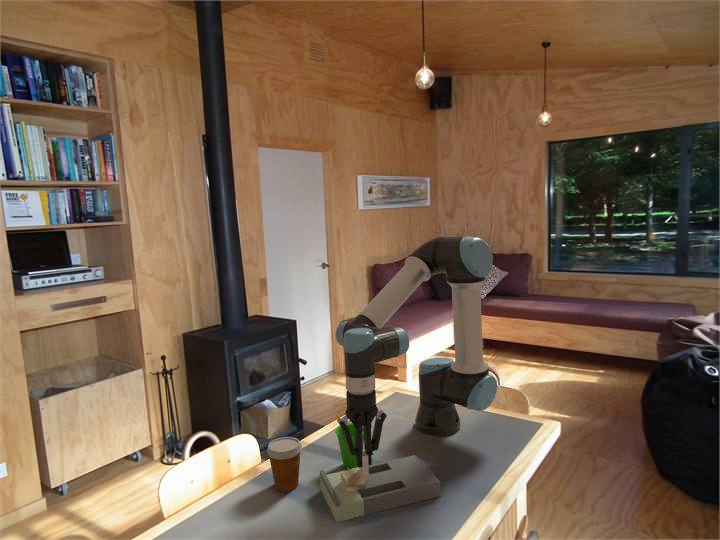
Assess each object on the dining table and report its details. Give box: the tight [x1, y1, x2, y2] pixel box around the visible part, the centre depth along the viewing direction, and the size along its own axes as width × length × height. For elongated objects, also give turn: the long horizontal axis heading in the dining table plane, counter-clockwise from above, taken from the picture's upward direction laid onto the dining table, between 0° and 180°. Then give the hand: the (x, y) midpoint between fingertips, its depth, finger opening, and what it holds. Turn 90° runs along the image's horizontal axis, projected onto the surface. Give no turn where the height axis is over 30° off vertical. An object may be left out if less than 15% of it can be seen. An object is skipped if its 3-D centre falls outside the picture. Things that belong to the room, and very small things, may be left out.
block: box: [340, 467, 366, 492], centre depth 128 cm, size 5×5×3 cm
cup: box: [334, 422, 364, 470], centre depth 145 cm, size 9×9×11 cm
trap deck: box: [319, 454, 441, 523], centre depth 130 cm, size 28×15×6 cm, turn 109°
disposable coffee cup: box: [266, 436, 303, 493], centre depth 136 cm, size 10×10×12 cm
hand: (364, 477), depth 129 cm, fingers closed
